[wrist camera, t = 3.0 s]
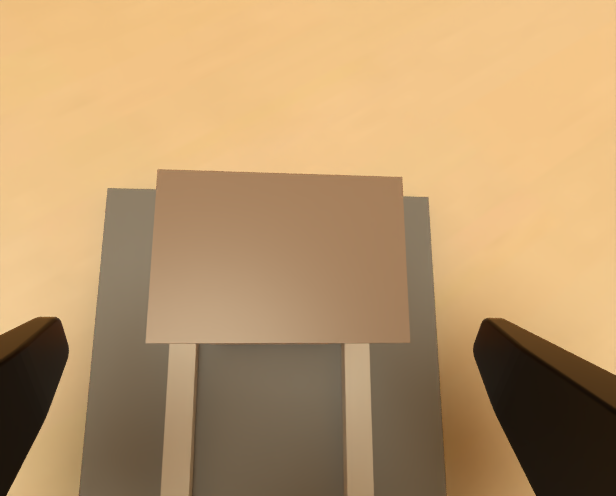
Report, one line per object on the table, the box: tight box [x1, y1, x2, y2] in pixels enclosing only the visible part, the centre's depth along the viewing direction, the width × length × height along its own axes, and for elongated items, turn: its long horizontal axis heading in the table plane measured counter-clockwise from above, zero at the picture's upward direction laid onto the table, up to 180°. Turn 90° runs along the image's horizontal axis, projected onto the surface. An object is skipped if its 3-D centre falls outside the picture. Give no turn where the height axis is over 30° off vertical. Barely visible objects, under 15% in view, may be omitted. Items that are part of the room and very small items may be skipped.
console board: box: [79, 188, 447, 496], centre depth 18 cm, size 24×14×2 cm, turn 0°
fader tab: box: [146, 169, 410, 344], centre depth 14 cm, size 3×5×11 cm
